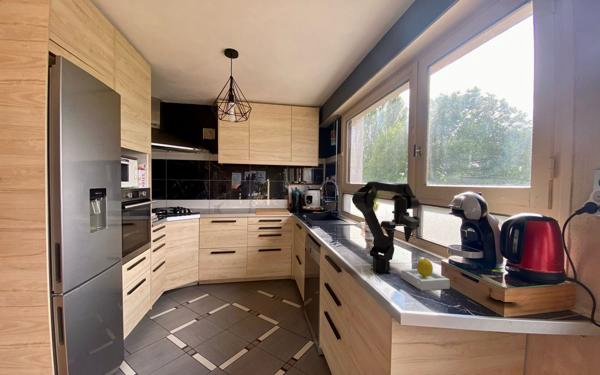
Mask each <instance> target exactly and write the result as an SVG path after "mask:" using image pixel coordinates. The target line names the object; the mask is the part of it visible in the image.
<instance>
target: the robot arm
mask: <svg viewBox="0 0 600 375" xmlns="http://www.w3.org/2000/svg"><path fill="white" fill-rule="evenodd" d="M378 192H386V193H387V192H388V193H390V194H392V195H394V196H392V197H391V198H390V199H391V200H392V201H393V210H392V211H391V213H392V214H393V219H391V221H389V220H382V221H381V222H379V219H378V216H377V215H376V212H375V210H374V207H375V199H376V198H377V195H378ZM416 197H417V196H416V194H415V195H414V193H413V190H412V188H411V186H410V185H409V183H406V182H404V183H403V182H402V183H401V182H397V183H396V182H395V183H387V182H380V181H377V180H376V181H375V180H374V181H373V180H372V181H371V180H370V181H368V182H367V183H366V184H365V185H363V186H362V187H361V188H359V189H358V190H357V191H355V192H354V193H353V195H352V198H351V201H352V204H353V205H354V206H355V208H356V209H357V210H358V211H360V212H361V213H362V216H363V218H364V220H365V222H366V225H367V226H368V228H369V231H370V233H371V235H372V237H373V240H372V241H373V242H372V245H373V246H372V247H371V248H370V250H369V252H368V254H369V256H370V257H372V267H370V270H371V271H372V272H374V273H375V274H377V275H389V274H391V273H392V272H390V268H391V267H390V266H391V265H390V261H392V260H393V257H394V253H395V243H394V240H395V232H396V230H397V229H396V227H403V232H404V239H405V242H407V243H409V241H410V238H411V237H412V236H411V235H412V234H413V232H414V231H415V230H417V229H418V228H420V222H421V220H420V216H417V215H415V216H411V214H410V212H409V211H408V210H416V209H418V208H419V206H420V201H419V199H418V198H416ZM383 230H384V231H385V232H384V231H383ZM385 234H386V235H385Z"/></svg>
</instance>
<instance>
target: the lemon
mask: <svg viewBox="0 0 600 375" xmlns="http://www.w3.org/2000/svg"><path fill="white" fill-rule="evenodd" d="M416 264H417V265H416V269H417V271H418V273H419V274H420V275H421V276H423V278H426V277H429V276H430V275H431V274H432V272H434V270H433V268H434V267H433V264H432V262H431V260H430V259H428V258H427V257H424V258H421V259H419V260H418V262H417V263H416Z"/></svg>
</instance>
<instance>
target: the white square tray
mask: <svg viewBox="0 0 600 375" xmlns="http://www.w3.org/2000/svg"><path fill="white" fill-rule="evenodd" d="M401 279H403V281H406V282H408V283H409V284H411V285H412V286H413V287H415V288H416V289H418V290H420V291H434V290H436V291H437V290H449V289H450V287H451V286H450V284H451V282H450V280H451V279H450V278H448V277H445V276H444V275H441V274H439V273H437V272H435V271H433V272H432V274H431V275H430V276H429V277H426V278H423V276H421V275H420V274H419V273H418V271H417V268H411V269H410V268H409V269H401Z"/></svg>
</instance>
